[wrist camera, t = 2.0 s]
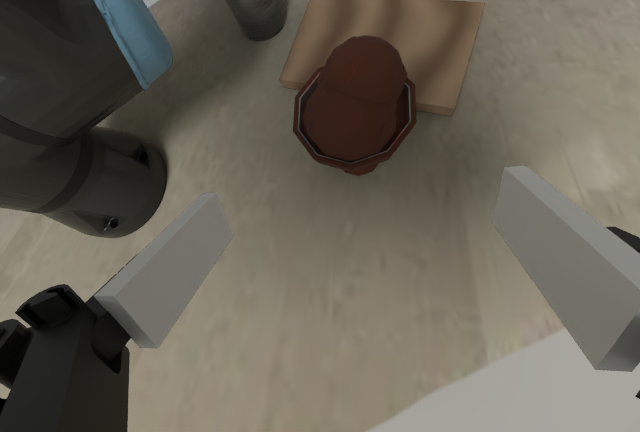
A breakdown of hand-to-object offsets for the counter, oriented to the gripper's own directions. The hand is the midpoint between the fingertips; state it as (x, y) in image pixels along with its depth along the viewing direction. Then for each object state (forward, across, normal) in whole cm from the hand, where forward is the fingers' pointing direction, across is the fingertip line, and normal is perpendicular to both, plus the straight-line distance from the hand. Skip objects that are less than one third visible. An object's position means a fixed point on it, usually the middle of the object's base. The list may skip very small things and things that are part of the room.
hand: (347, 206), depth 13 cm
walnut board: (+30, +3, +5) cm, 31 cm away
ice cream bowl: (+21, 0, -5) cm, 21 cm away
